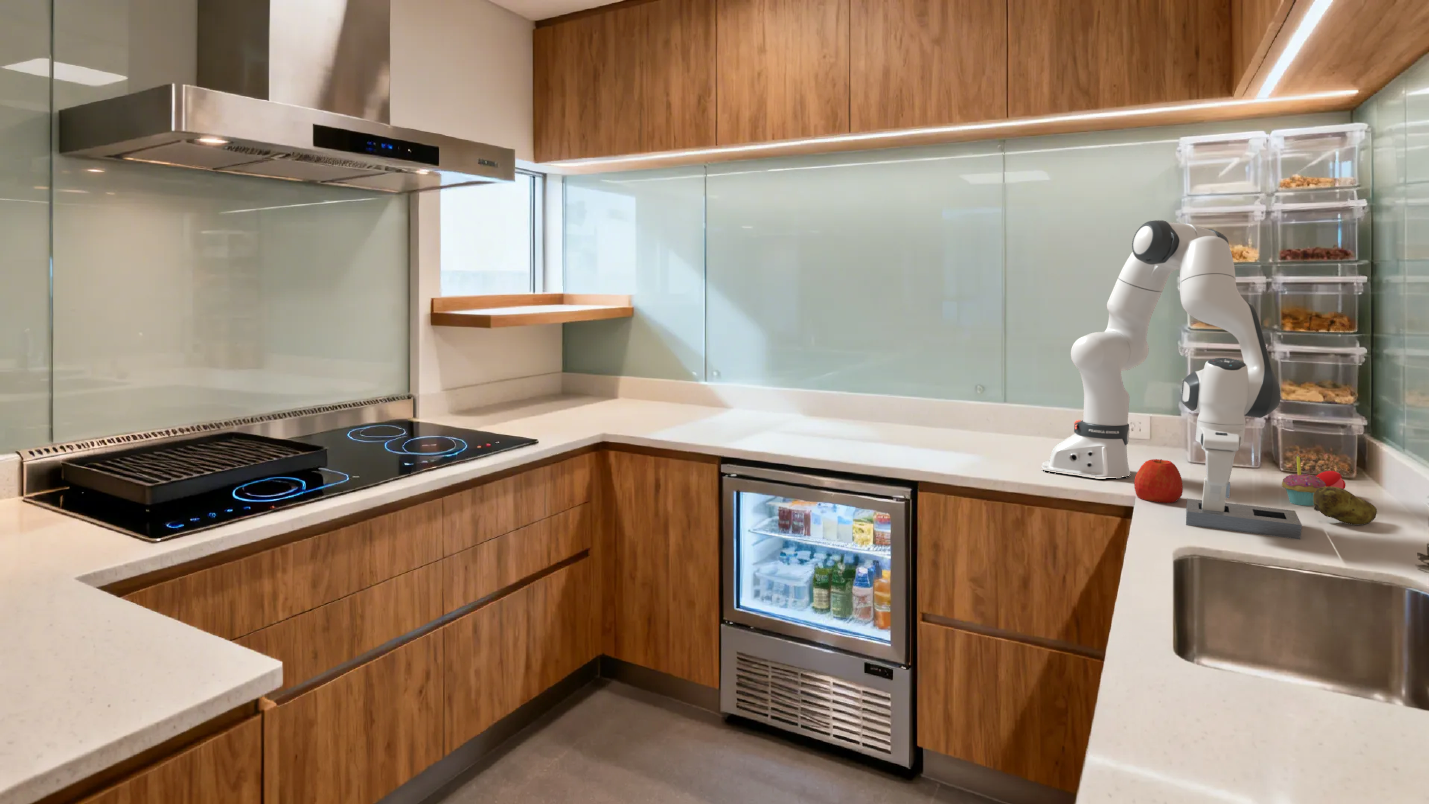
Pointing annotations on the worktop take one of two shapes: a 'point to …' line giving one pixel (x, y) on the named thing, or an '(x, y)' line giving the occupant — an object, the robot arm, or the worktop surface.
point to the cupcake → (1302, 486)
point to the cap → (1332, 479)
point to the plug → (1214, 505)
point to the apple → (1158, 481)
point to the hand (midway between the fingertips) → (1213, 497)
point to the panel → (1245, 519)
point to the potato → (1343, 506)
